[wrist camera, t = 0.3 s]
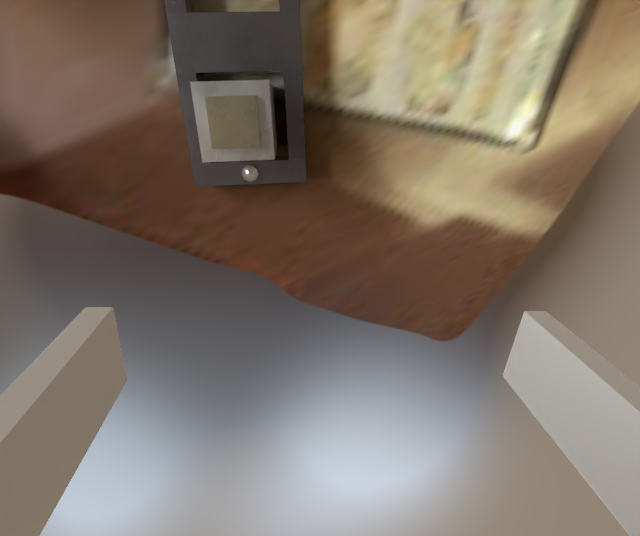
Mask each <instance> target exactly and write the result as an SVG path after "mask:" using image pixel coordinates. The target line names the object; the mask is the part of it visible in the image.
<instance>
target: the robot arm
mask: <svg viewBox="0 0 640 536" xmlns="http://www.w3.org/2000/svg"><path fill="white" fill-rule="evenodd" d="M503 377H504V378H505V379H506V381H507V382H508V383H509V384H510V386H511V387H512V388H513V390H514V391H515V392H516V393H517V395H518V396H519V397H520V398H521V399H522V401H523V402H524V403H525V405H526V406H527V407H528V408H529V410H530V411H531V412H532V413H533V415H534V416H535V417H536V419H537V420H538V421H539V422H540V424H541V425H542V426H543V427H544V429H545V430H546V431H547V432H548V434H549V435H550V436H551V437H552V439H553V440H554V441H555V442H556V444H557V445H558V446H559V447H560V449H561V450H562V451H563V452H564V454H565V455H566V456H567V458H568V459H569V460H570V461H571V463H572V464H573V465H574V466H575V468H576V469H577V470H578V471H579V473H580V474H581V475H582V476H583V478H584V479H585V480H586V481H587V483H588V484H589V485H590V487H591V488H592V489H593V490H594V491H595V493H596V494H597V495H598V497H599V498H600V499H601V500H602V502H603V503H604V504H605V505H606V507H607V508H608V509H609V510H610V512H611V513H612V514H613V516H614V517H615V518H616V519H617V521H618V522H619V523H620V524H621V526H622V527H623V528H624V529H625V531H626V532H627V533H628V534H629V536H640V387H639V386H638V385H637V384H635V383H634V382H633V381H632V380H630V379H629V378H628V377H627V376H625V375H624V374H623V373H622V372H620V371H619V370H618V369H617V368H615V367H614V366H613V365H612V364H611V363H609V362H608V361H607V360H606V359H604V358H603V357H602V356H601V355H599V354H598V353H596V351H594V350H593V349H592V348H591V347H589V346H588V345H587V344H586V343H584V342H583V341H582V340H581V339H579V338H578V337H577V336H576V335H575V334H573V333H572V332H571V331H570V330H568V329H567V328H566V327H565V326H563V325H562V324H561V323H560V322H558V321H557V320H556V319H555V318H553V317H552V316H551V315H550V314H548V313H547V312H546V311H524V314H523V317H522V320H521V323H520V326H519V329H518V332H517V335H516V338H515V340H514V344H513V346H512V349H511V352H510V356H509V359H508V362H507V364H506V367H505V370H504V373H503ZM126 381H127V377H126V372H125V366H124V361H123V356H122V351H121V346H120V341H119V336H118V330H117V325H116V320H115V315H114V310H113V308H112V307H85V309H84V310H83V311H82V312H81V313H80V314H79V315H78V316H77V317H76V318H75V319H74V320H73V321H72V322H71V323H70V324H69V325H68V326H67V327H66V328H65V329H64V330H63V331H62V332H61V333H60V335H58V337H57V338H56V339H55V340H54V341H53V342H52V343H51V344H50V345H49V346H48V347H47V348H46V349H45V350H44V351H43V352H42V353H41V354H40V355H39V356H38V357H37V358H36V359H35V360H34V361H33V362H32V364H31V365H30V366H29V367H28V368H27V369H26V370H25V371H24V372H23V373H22V374H21V375H20V376H19V377H18V378H17V379H16V380H15V381H14V382H13V383H12V384H11V385H10V386H9V387H8V388H7V389H6V390H5V391H4V392H3V393H2V395H1V396H0V536H39V535H40V533H41V531H42V530H43V528H44V526H45V525H46V523H47V521H48V519H49V518H50V516H51V514H52V512H53V510H54V509H55V507H56V505H57V503H58V501H59V500H60V498H61V496H62V495H63V493H64V491H65V489H66V487H67V486H68V484H69V482H70V480H71V479H72V477H73V475H74V473H75V471H76V470H77V468H78V466H79V464H80V463H81V461H82V459H83V457H84V456H85V454H86V452H87V450H88V448H89V446H90V445H91V443H92V441H93V440H94V438H95V436H96V434H97V432H98V431H99V429H100V427H101V425H102V424H103V422H104V420H105V418H106V416H107V415H108V413H109V411H110V409H111V408H112V406H113V404H114V402H115V401H116V399H117V397H118V395H119V394H120V392H121V390H122V388H123V386H124V385H125V383H126Z"/></svg>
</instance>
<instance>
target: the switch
mask: <svg viewBox="0 0 640 536" xmlns="http://www.w3.org/2000/svg"><path fill="white" fill-rule="evenodd" d="M164 2H165V8H166V14H167V20H168V26H169V32H170V38H171V44H172V50H173V56H174V62H175V68H176V74H177V80H178V86H179V92H180V98H181V104H182V110H183V116H184V122H185V128H186V134H187V140H188V146H189V152H190V158H191V164H192V170H193V177H194V183H195V187H200V186H223V185H245V184H268V183H291V182H307V178H306V153H305V129H304V105H303V81H302V56H301V32H300V8H299V0H279V4H280V12H201V13H194V6H193V0H164ZM283 73H284V87H285V104H286V121H287V138H288V154H289V156H276V150H277V133H276V119H275V105H274V90H273V85H272V84H271V82H270V81H269V80H237V81H204V78H203V75H241V74H283Z"/></svg>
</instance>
